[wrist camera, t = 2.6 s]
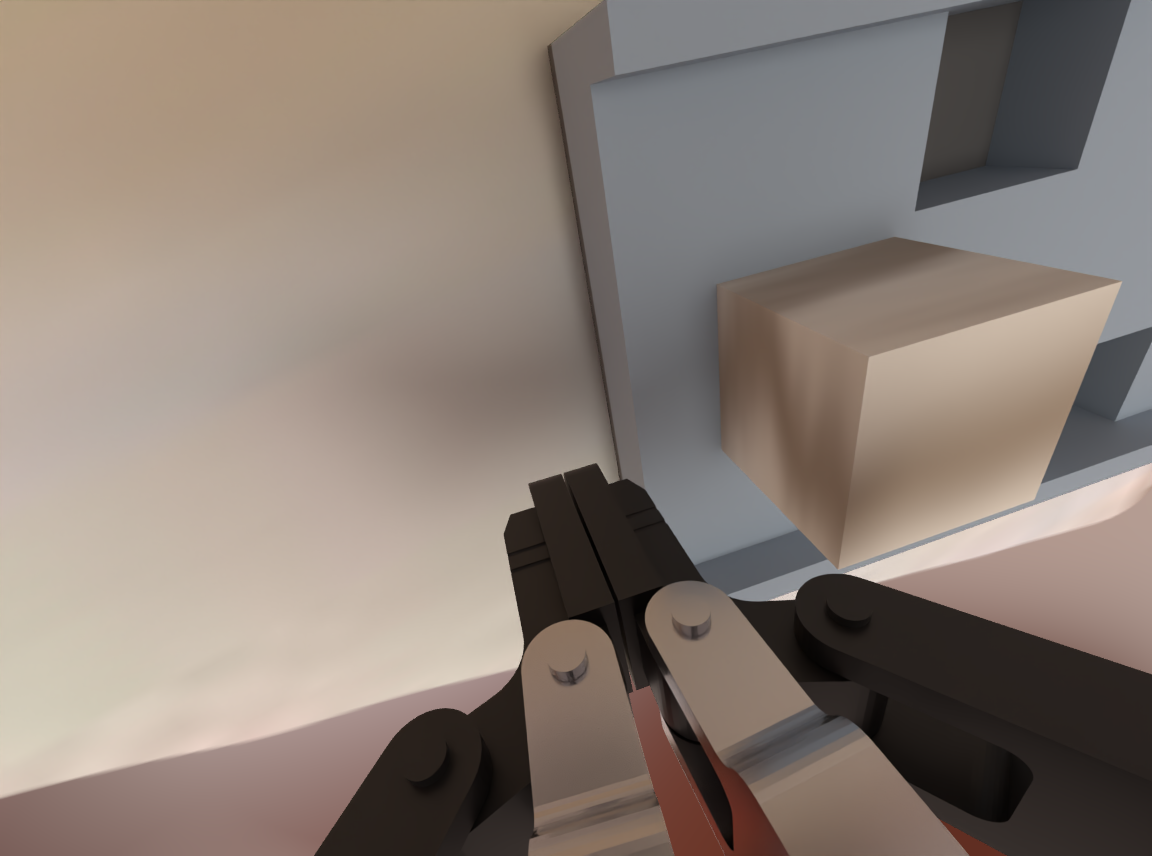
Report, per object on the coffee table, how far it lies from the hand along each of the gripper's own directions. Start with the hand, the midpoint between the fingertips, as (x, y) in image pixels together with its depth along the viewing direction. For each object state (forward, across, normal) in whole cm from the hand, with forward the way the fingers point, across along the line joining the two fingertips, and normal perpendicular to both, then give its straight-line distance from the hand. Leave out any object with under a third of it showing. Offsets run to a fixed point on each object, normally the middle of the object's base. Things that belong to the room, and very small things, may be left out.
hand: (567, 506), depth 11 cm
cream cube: (+3, -8, 0) cm, 8 cm away
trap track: (+6, -16, -1) cm, 17 cm away
